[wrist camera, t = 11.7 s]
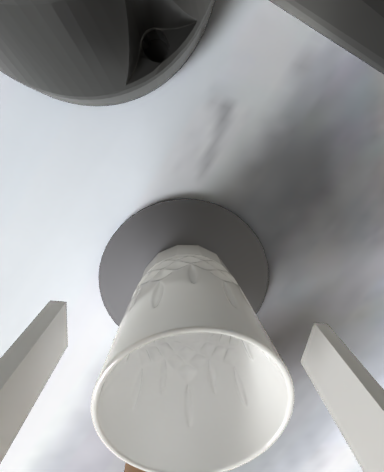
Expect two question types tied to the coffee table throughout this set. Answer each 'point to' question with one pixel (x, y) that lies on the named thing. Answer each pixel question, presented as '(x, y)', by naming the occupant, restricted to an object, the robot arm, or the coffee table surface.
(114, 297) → the pad
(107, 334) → the coffee table surface
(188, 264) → the white cup
